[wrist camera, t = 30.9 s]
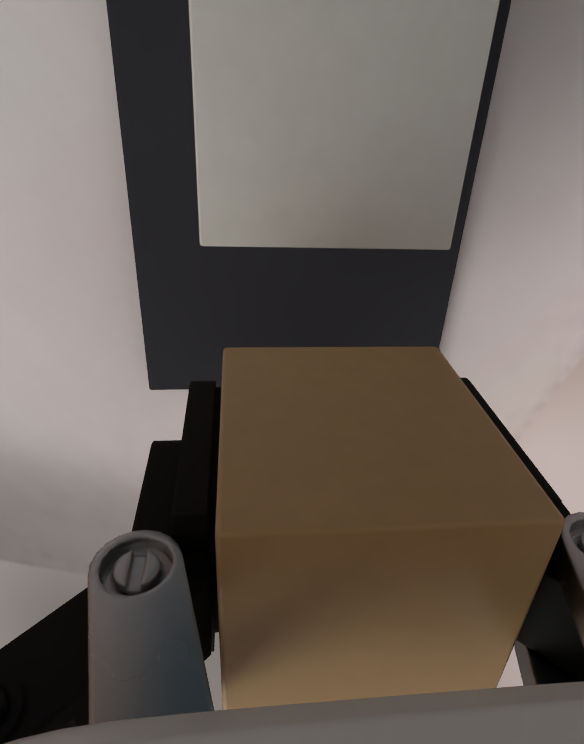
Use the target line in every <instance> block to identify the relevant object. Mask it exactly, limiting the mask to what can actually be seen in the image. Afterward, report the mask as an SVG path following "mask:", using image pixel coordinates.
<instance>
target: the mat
mask: <svg viewBox="0 0 584 744" xmlns="http://www.w3.org/2000/svg"><path fill="white" fill-rule="evenodd" d="M106 2H107V11H108V20H109V29H110V38H111V47H112V56H113V65H114V74H115V83H116V92H117V101H118V110H119V119H120V128H121V137H122V146H123V155H124V164H125V173H126V182H127V191H128V199H129V208H130V217H131V226H132V235H133V244H134V253H135V262H136V271H137V280H138V289H139V298H140V307H141V316H142V325H143V334H144V343H145V352H146V361H147V370H148V379H149V388H150V389H151V390H167V389H189V387H190V381H216V387H222V365H223V351H224V349H225V348H243V347H437V348H438V349H439V344H440V339H441V335H442V330H443V325H444V320H445V316H446V311H447V306H448V301H449V296H450V292H451V287H452V282H453V277H454V273H455V268H456V263H457V258H458V253H459V249H460V244H461V239H462V234H463V229H464V225H465V220H466V215H467V210H468V206H469V201H470V196H471V191H472V186H473V182H474V177H475V172H476V167H477V162H478V158H479V153H480V148H481V143H482V139H483V134H484V129H485V124H486V119H487V115H488V110H489V105H490V100H491V95H492V91H493V86H494V81H495V76H496V72H497V67H498V62H499V57H500V52H501V48H502V43H503V38H504V33H505V29H506V24H507V19H508V14H509V9H510V5H511V0H500V2H499V7H498V12H497V17H496V22H495V27H494V32H493V37H492V42H491V47H490V52H489V57H488V62H487V67H486V72H485V77H484V82H483V87H482V92H481V97H480V102H479V107H478V112H477V117H476V122H475V127H474V132H473V137H472V142H471V147H470V152H469V157H468V162H467V167H466V172H465V177H464V182H463V187H462V192H461V197H460V202H459V207H458V212H457V217H456V222H455V227H454V232H453V237H452V242H451V247H450V249H449V250H426V249H360V248H295V247H229V246H201V245H200V238H199V216H198V195H197V173H196V151H195V130H194V108H193V86H192V65H191V43H190V22H189V0H106Z"/></svg>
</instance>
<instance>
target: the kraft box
mask: <svg viewBox="0 0 584 744" xmlns="http://www.w3.org/2000/svg"><path fill="white" fill-rule="evenodd" d="M564 524H565V520H564V517H563V516H562V514H561V513H560V512H559V510H558V509H557V508H556V506H555V505H554V504H553V502H552V501H551V500H550V498H549V497H548V496H547V494H546V493H545V492H544V490H543V489H542V488H541V486H540V485H539V484H538V482H537V481H536V479H535V478H534V477H533V475H532V474H531V473H530V471H529V470H528V469H527V467H526V466H525V465H524V463H523V462H522V461H521V459H520V458H519V457H518V455H517V454H516V453H515V451H514V450H513V449H512V447H511V446H510V444H509V443H508V442H507V440H506V439H505V438H504V436H503V435H502V434H501V432H500V431H499V430H498V428H497V427H496V426H495V424H494V423H493V422H492V420H491V419H490V418H489V416H488V415H487V414H486V412H485V411H484V410H483V408H482V407H481V405H480V404H479V403H478V401H477V400H476V399H475V397H474V396H473V395H472V393H471V392H470V391H469V389H468V388H467V387H466V385H465V384H464V383H463V381H462V380H461V379H460V377H459V376H458V375H457V373H456V372H455V370H454V369H453V368H452V366H451V365H450V364H449V362H448V361H447V360H446V358H445V357H444V356H443V354H442V353H441V352H440V350H439V349H438V348H437V347H243V348H225V349H224V351H223V365H222V388H221V410H220V433H219V456H218V478H217V501H216V524H215V547H216V570H217V593H218V616H219V638H220V660H221V684H222V707H223V710H228V709H240V708H252V707H264V706H276V705H288V704H300V703H312V702H324V701H337V700H349V699H361V698H373V697H386V696H398V695H411V694H424V693H437V692H450V691H463V690H476V689H489V688H496V687H497V685H498V682H499V680H500V678H501V675H502V673H503V670H504V668H505V666H506V663H507V661H508V659H509V656H510V654H511V651H512V649H513V647H514V644H515V642H516V639H517V637H518V635H519V632H520V630H521V627H522V625H523V623H524V620H525V618H526V615H527V613H528V611H529V608H530V606H531V603H532V601H533V599H534V596H535V594H536V591H537V589H538V587H539V584H540V582H541V580H542V577H543V575H544V572H545V570H546V568H547V565H548V563H549V560H550V558H551V556H552V553H553V551H554V548H555V546H556V544H557V541H558V539H559V536H560V534H561V532H562V529H563V527H564Z"/></svg>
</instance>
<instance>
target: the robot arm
mask: <svg viewBox="0 0 584 744" xmlns="http://www.w3.org/2000/svg"><path fill="white" fill-rule="evenodd" d="M460 379H461V380H462V381H463V383H464V384H465V385H466V387H467V388H468V389H469V391H470V392H471V393H472V395H473V396H474V397H475V399H476V400H477V401H478V403H479V404H480V405H481V407H482V408H483V410H484V411H485V412H486V414H487V415H488V416H489V418H490V419H491V420H492V422H493V423H494V424H495V426H496V427H497V428H498V430H499V431H500V432H501V434H502V435H503V436H504V438H505V439H506V440H507V442H508V443H509V444H510V446H511V447H512V449H513V450H514V451H515V453H516V454H517V455H518V457H519V458H520V459H521V461H522V462H523V463H524V465H525V466H526V467H527V469H528V470H529V471H530V473H531V474H532V475H533V477H534V478H535V479H536V481H537V482H538V484H539V485H540V486H541V488H542V489H543V490H544V492H545V493H546V494H547V496H548V497H549V498H550V500H551V501H552V502H553V504H554V505H555V506H556V508H557V509H558V510H559V512H560V513H561V514H562V516H563V517H564V520H565V524H564V527H563V529H562V532H561V534H560V536H559V539H558V541H557V544H556V546H555V548H554V551H553V553H552V556H551V558H550V560H549V563H548V565H547V568H546V570H545V572H544V575H543V577H542V580H541V582H540V584H539V587H538V589H537V591H536V594H535V596H534V599H533V601H532V603H531V606H530V608H529V611H528V613H527V615H526V618H525V620H524V623H523V625H522V627H521V630H520V632H519V635H518V637H517V639H516V642H515V644H514V645H515V652H516V656H517V660H518V664H519V668H520V673H521V677H522V680H523V685H524V686H516V687H502V688H489V689H476V690H463V691H450V692H437V693H424V694H411V695H398V696H386V697H373V698H361V699H349V700H337V701H324V702H312V703H300V704H288V705H276V706H264V707H252V708H240V709H228V710H217V711H214V707H213V702H212V698H211V692H210V688H209V682H208V678H207V673H206V668H205V663H204V661H205V660H206V659H207V658H208V657H209V656H210V655H211V652H212V651H214V639H215V632H219V616H218V593H217V570H216V547H215V524H216V501H217V478H218V456H219V433H220V410H221V388H222V387H216V381H190V387H189V394H188V401H187V408H186V414H185V421H184V428H183V435H182V440H175V441H153V443H152V445H151V449H150V453H149V458H148V462H147V467H146V471H145V476H144V480H143V484H142V489H141V493H140V498H139V502H138V507H137V511H136V515H135V520H134V524H133V529H132V532H129V533H126V534H123V535H120V536H118V537H116V538H114V539H113V540H111V541H109V542H108V543H106V544H105V545H104V546H103V547H102V548H101V549H100V550H99V551H98V552H97V553H96V555H95V556H94V558H93V560H92V561H91V563H90V566H89V572H88V588H86V589H85V590H83V591H82V592H80V593H79V594H78V595H76V596H75V597H74V598H72V599H70V600H69V601H68V602H66V603H65V604H63V605H62V606H61V607H59V608H58V609H56V610H55V611H54V612H52V613H51V614H49V615H48V616H47V617H45V618H44V619H42V620H41V621H39V622H38V623H37V624H35V625H34V626H33V627H31V628H30V629H28V630H27V631H25V632H24V633H22V634H21V635H20V636H18V637H17V638H15V639H14V640H13V641H11V642H10V643H9V644H7V645H5V646H4V647H3V648H1V649H0V744H584V513H583V512H578V513H574V514H570V512H569V511H568V510H567V509H566V507H565V506H564V505H563V503H562V501H561V499H560V498H559V497H558V495H557V494H556V493H555V491H554V490H553V489H552V487H551V486H550V485H549V484H548V483H547V481H546V480H545V478H544V477H543V476H542V474H541V473H540V472H539V471H538V469H537V468H536V467H535V465H534V464H533V463H532V461H531V460H530V459H529V457H528V456H527V455H526V454H525V452H524V451H523V450H522V448H521V447H520V446H519V444H518V443H517V442H516V441H515V439H514V438H513V437H512V435H511V434H510V433H509V431H508V430H507V429H506V427H505V426H504V425H503V424H502V422H501V421H500V420H499V418H498V417H497V416H496V414H495V413H494V412H493V411H492V409H491V408H490V407H489V405H488V404H487V403H486V401H485V400H484V399H483V398H482V396H481V395H480V394H479V392H478V391H477V390H476V388H475V387H474V386H473V385H472V383H471V382H470V381H469V380H468V379H467V378H460Z"/></svg>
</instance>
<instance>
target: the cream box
mask: <svg viewBox="0 0 584 744" xmlns="http://www.w3.org/2000/svg"><path fill="white" fill-rule="evenodd" d="M499 2H500V0H189V22H190V43H191V65H192V86H193V108H194V130H195V151H196V173H197V195H198V216H199V238H200V245H201V246H229V247H295V248H360V249H426V250H449V249H450V247H451V242H452V237H453V232H454V227H455V222H456V217H457V212H458V207H459V202H460V197H461V192H462V187H463V182H464V177H465V172H466V167H467V162H468V157H469V152H470V147H471V142H472V137H473V132H474V127H475V122H476V117H477V112H478V107H479V102H480V97H481V92H482V87H483V82H484V77H485V72H486V67H487V62H488V57H489V52H490V47H491V42H492V37H493V32H494V27H495V22H496V17H497V12H498V7H499Z"/></svg>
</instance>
